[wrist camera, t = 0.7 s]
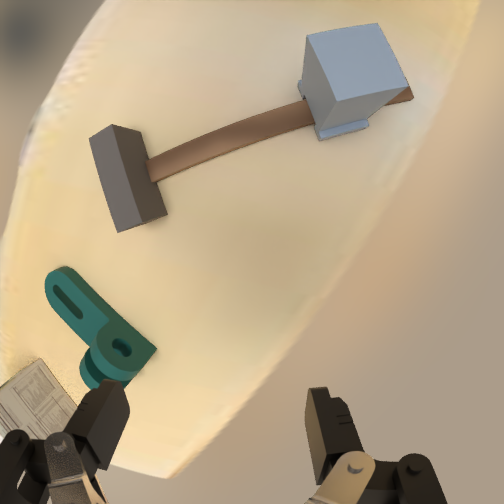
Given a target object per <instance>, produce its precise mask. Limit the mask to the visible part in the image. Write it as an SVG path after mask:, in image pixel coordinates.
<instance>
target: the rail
mask: <svg viewBox="0 0 504 504" xmlns="http://www.w3.org/2000/svg"><path fill="white" fill-rule="evenodd" d="M405 78H406V77H405ZM406 81H407V79H406ZM407 83H408V82H407ZM408 85H409V84H408ZM413 98H414V96H413V94H412V91H411V89H410V86H408V87H407V88H406V89H404V90H403V91H402V92H400V93H399V94H398V95H397V96H395V97H394V98H393V99H391V100H390V101H389V102H388V103H386V104H385V105H384V106H386V105H390V104H395V103H400V102H405V101H410V100H412V99H413ZM311 124H315V121H314V118H313V115H312V113H311V110H310V108H309V105H308V103H307V100H303V101H299V102H296V103H293V104H289V105H286V106H283V107H280V108H276V109H273V110H270V111H267V112H264V113H261V114H258V115H256V116H253V117H250V118H247V119H244V120H241V121H239V122H236V123H233V124H231V125H228V126H225V127H223V128H220V129H218V130H215V131H213V132H210V133H208V134H205V135H203V136H200V137H198V138H196V139H193V140H191V141H189V142H186V143H184V144H182V145H179V146H177V147H175V148H173V149H171V150H168V151H166V152H164V153H162V154H160V155H158V156H155V157H153V158H151V159H149V160H147V161H145V164H146V167H147V170H148V173H149V176H150V179H151V182H158V181H160V180H162V179H164V178H167V177H169V176H171V175H173V174H176V173H178V172H180V171H183V170H185V169H188V168H190V167H192V166H195V165H197V164H200V163H202V162H205V161H207V160H210V159H212V158H215V157H217V156H220V155H223V154H225V153H228V152H231V151H233V150H236V149H239V148H241V147H244V146H247V145H250V144H253V143H255V142H258V141H261V140H264V139H267V138H270V137H273V136H276V135H279V134H282V133H285V132H288V131H292V130H295V129H298V128H301V127H305V126H308V125H311Z"/></svg>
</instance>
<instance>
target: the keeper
mask: <svg viewBox="0 0 504 504" xmlns="http://www.w3.org/2000/svg"><path fill="white" fill-rule="evenodd" d="M408 86H409V85H408V83H407V81H406V78H405V76H404V74H403V72H402V70H401V67H400V65H399V63H398V61H397V59H396V57H395V55H394V53H393V51H392V49H391V47H390V45H389V43H388V41H387V39H386V38H385V36H384V34H383V32H382V30H381V28H380V27H379V25H378V23H375V24H367V25H359V26H353V27H346V28H340V29H335V30H330V31H325V32H320V33H315V34H311V35H307V37H306V46H305V56H304V65H303V73H302V80H299V81H298V88H299V91H300V93H301V96H302V98H303V99H306V100H307V103H308V105H309V108H310V110H311V113H312V115H313V118H314V121H315V123H316V125H315V127H314V128H315V131H316V134H317V137H318V139H319V141H322V140H326V139H329V138H332V137H336V136H340V135H343V134H347V133H351V132H354V131H358V130H362V129H365V128H366V127H368V126H369V124H368V121H367V118H368V117H370V116H371V115H372V114H373V113H375V112H376V111H377V110H379V109H380V108H381V107H382V106H384V105H385V104H386V103H388V102H389V101H390V100H391V99H393V98H394V97H395V96H397V95H398V94H399V93H400V92H402V91H403V90H404V89H406V88H407V87H408Z"/></svg>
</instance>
